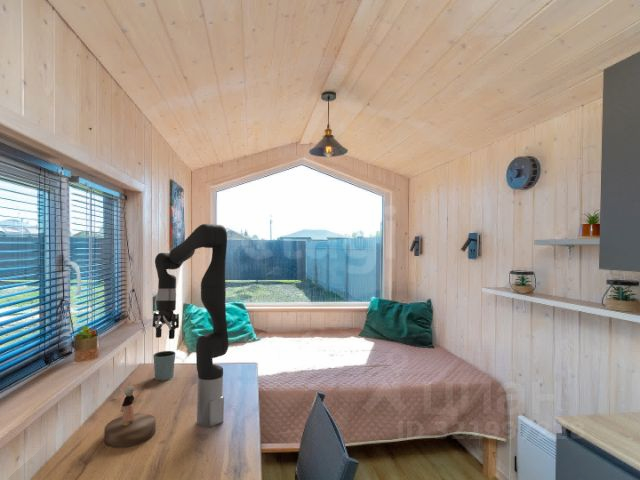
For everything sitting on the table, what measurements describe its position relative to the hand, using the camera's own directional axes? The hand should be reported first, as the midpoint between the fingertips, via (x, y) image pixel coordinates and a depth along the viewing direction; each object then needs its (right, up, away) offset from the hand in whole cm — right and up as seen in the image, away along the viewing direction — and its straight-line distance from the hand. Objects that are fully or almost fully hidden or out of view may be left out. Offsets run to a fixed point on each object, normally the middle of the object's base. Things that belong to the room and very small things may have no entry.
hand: (164, 338), depth 157 cm
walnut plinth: (-1, -27, -27) cm, 38 cm away
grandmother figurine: (-2, -23, -26) cm, 35 cm away
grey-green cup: (-12, -27, +28) cm, 41 cm away
